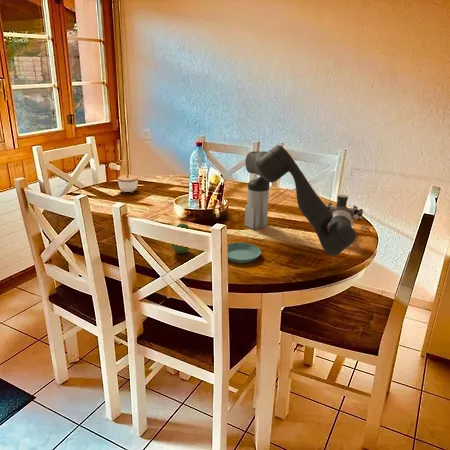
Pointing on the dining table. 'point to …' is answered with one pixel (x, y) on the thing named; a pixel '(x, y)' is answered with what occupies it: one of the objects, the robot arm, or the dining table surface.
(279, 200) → the dining table surface
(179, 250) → the avocado
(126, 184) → the lidded jar
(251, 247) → the saucer
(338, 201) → the sauce bottle
